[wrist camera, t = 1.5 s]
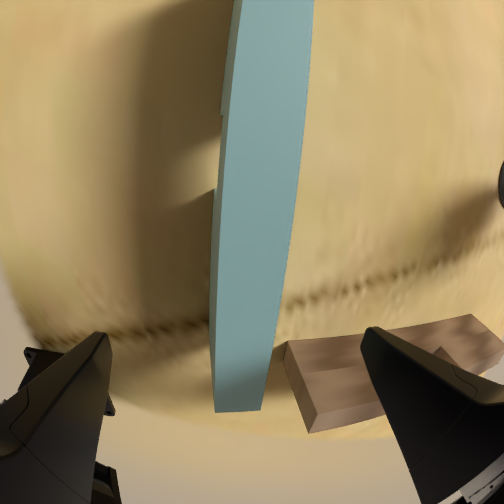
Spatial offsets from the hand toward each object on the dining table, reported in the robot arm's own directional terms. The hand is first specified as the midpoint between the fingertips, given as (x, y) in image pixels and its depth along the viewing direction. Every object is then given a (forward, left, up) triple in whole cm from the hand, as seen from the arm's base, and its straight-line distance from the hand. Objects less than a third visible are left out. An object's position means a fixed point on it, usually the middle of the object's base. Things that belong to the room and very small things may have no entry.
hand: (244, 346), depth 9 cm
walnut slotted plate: (-6, -14, -6) cm, 17 cm away
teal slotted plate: (+6, 0, -7) cm, 9 cm away
